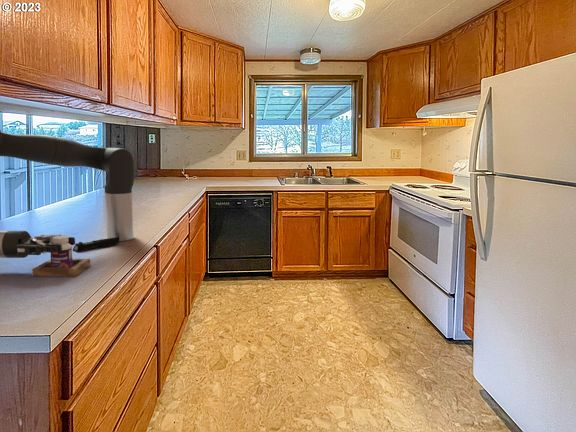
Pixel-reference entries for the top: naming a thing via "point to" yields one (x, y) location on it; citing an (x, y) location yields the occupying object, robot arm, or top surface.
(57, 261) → the pill bottle
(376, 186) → the top surface
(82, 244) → the electric trimmer
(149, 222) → the top surface
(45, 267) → the socket block
